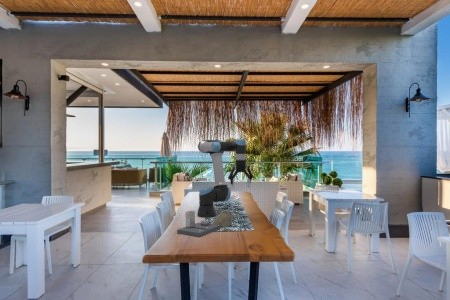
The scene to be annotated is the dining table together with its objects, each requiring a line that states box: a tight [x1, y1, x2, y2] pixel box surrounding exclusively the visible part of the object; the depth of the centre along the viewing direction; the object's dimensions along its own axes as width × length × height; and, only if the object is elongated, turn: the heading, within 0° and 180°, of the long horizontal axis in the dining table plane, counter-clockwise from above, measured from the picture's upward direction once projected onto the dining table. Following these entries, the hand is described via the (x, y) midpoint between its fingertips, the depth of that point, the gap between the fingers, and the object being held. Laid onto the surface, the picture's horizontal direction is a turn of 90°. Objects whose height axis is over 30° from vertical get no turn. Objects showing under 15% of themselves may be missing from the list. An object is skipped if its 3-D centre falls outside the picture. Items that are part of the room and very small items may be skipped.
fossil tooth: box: [212, 210, 234, 228], centre depth 235 cm, size 12×6×15 cm
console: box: [176, 220, 221, 238], centre depth 221 cm, size 18×24×5 cm
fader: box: [185, 210, 196, 228], centre depth 223 cm, size 4×6×10 cm, turn 148°
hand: (240, 188), depth 245 cm, fingers open, 13 cm apart
